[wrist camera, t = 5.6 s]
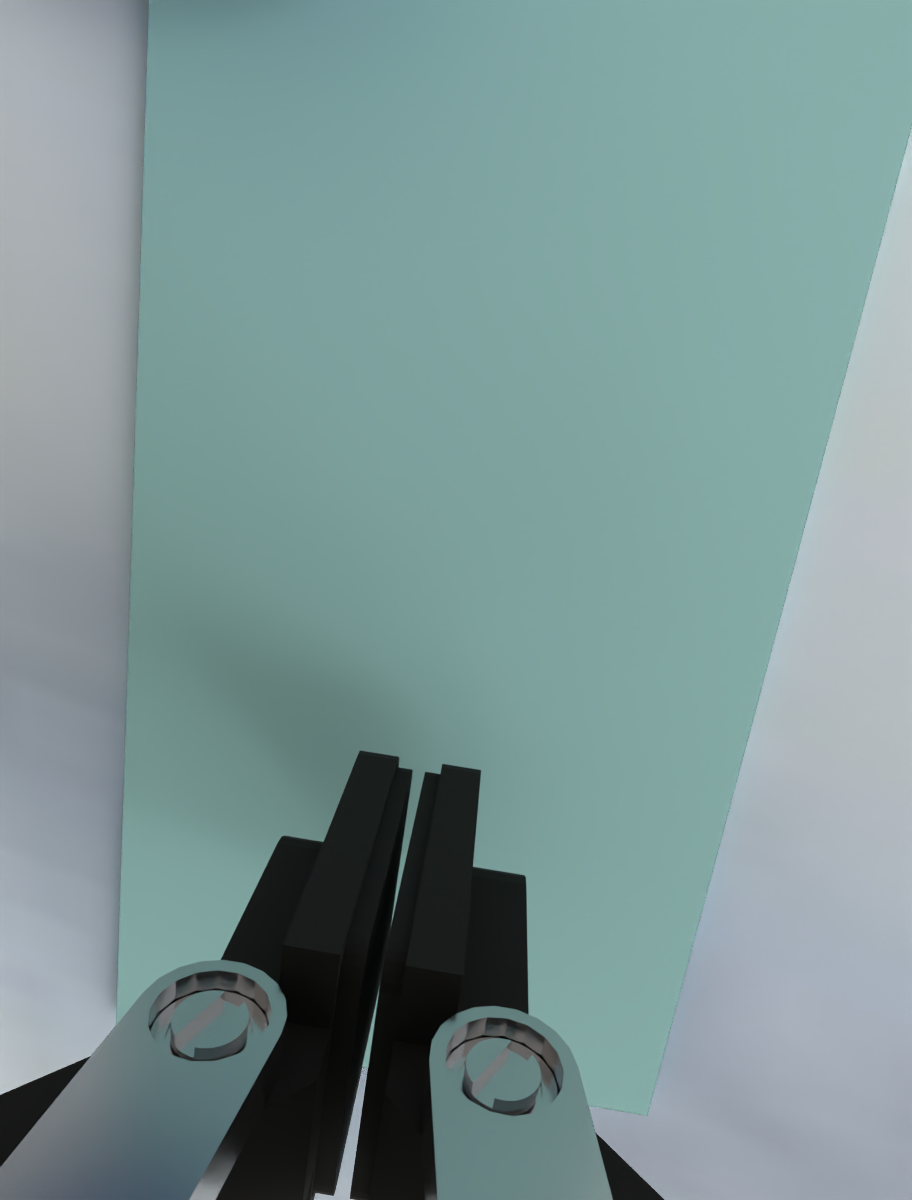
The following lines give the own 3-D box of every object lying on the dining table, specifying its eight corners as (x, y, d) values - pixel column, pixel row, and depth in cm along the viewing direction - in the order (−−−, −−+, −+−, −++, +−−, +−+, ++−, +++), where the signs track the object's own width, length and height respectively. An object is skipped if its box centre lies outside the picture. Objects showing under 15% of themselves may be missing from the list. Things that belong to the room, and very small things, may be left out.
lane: (1583, -2430, 6) (1621, -2527, 5) (645, 1106, 14) (647, 1116, 14) (241, -2509, 6) (231, -2605, 6) (121, 1015, 14) (116, 1024, 14)
